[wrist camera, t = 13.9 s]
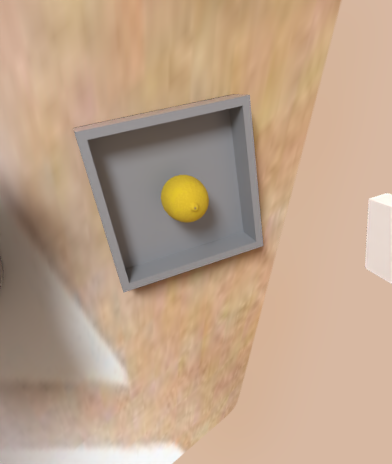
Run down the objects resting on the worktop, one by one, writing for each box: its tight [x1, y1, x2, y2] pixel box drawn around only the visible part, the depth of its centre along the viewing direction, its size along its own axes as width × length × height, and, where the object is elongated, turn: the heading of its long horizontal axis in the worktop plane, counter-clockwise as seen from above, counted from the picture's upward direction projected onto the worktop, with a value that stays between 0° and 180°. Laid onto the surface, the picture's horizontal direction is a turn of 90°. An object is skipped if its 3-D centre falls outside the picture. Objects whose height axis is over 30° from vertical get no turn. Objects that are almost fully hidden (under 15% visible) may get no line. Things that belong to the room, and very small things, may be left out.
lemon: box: [161, 175, 209, 223], centre depth 42 cm, size 6×6×8 cm
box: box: [73, 94, 263, 292], centre depth 44 cm, size 20×20×4 cm
